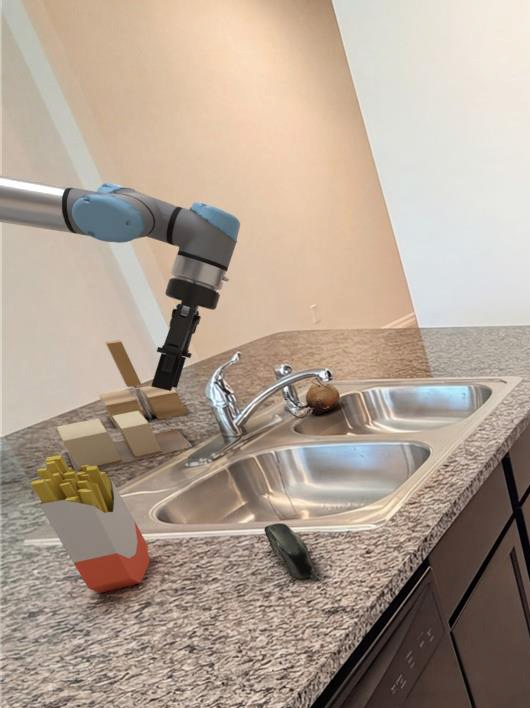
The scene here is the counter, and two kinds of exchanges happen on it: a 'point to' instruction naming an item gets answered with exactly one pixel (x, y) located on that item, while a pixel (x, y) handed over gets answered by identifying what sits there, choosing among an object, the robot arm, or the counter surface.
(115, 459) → the beige block
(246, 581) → the counter surface
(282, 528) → the dark green zucchini
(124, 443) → the board
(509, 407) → the counter surface
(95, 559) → the french fries container
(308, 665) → the counter surface
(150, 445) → the beige wooden block
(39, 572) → the counter surface
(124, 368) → the wooden handled screwdriver
